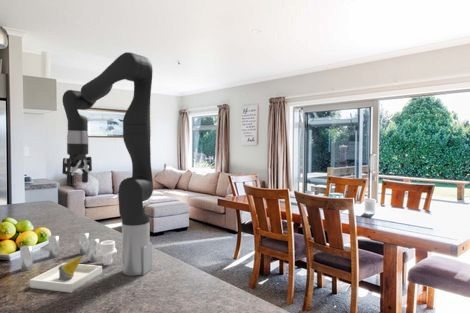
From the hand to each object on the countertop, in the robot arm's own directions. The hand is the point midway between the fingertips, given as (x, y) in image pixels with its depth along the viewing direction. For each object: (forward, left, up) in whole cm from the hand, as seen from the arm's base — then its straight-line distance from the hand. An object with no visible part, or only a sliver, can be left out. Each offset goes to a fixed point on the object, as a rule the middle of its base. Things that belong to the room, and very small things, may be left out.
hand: (77, 183), depth 130 cm
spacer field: (0, +6, -29) cm, 29 cm away
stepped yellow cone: (-12, +20, -28) cm, 37 cm away
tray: (-12, +21, -29) cm, 37 cm away
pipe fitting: (-16, +5, -29) cm, 33 cm away
